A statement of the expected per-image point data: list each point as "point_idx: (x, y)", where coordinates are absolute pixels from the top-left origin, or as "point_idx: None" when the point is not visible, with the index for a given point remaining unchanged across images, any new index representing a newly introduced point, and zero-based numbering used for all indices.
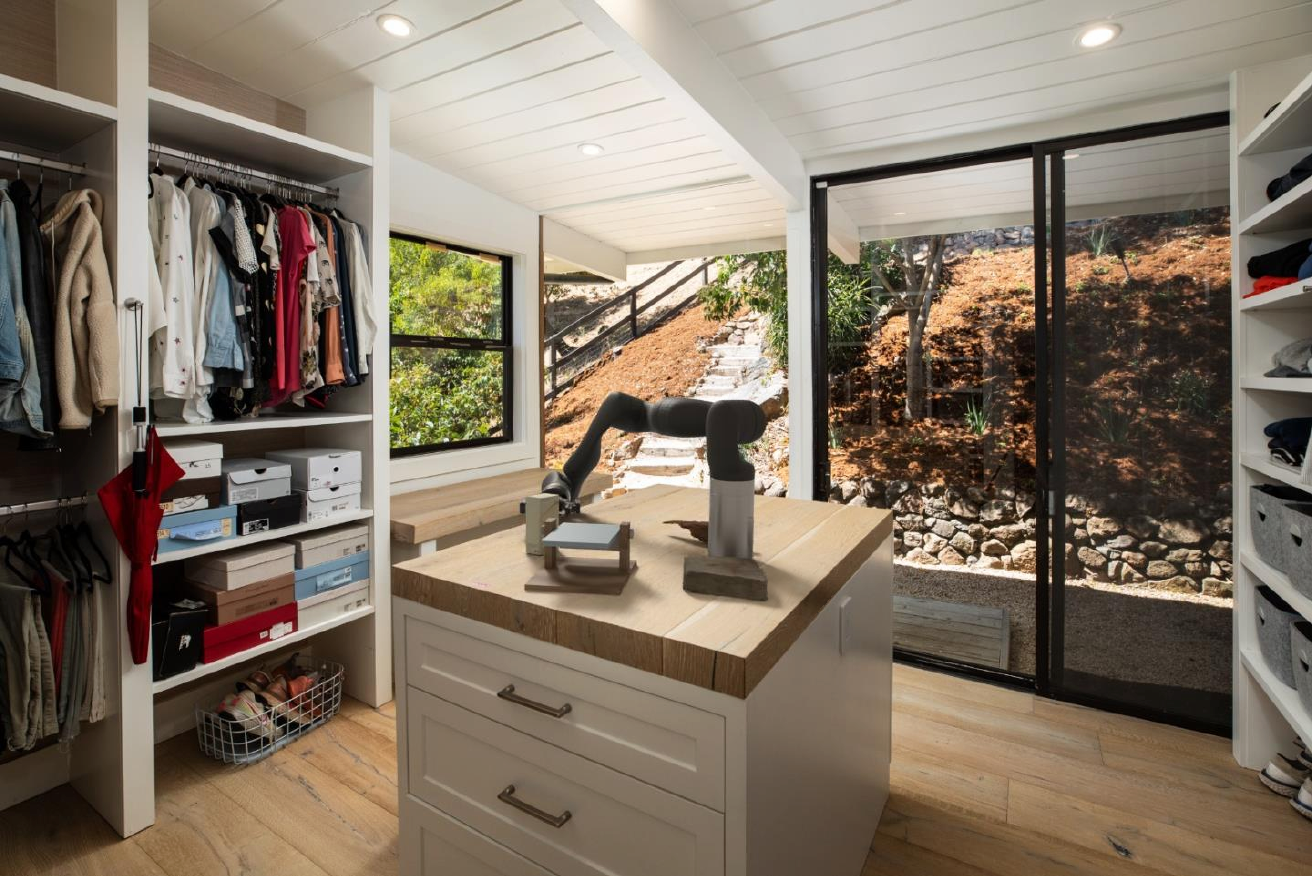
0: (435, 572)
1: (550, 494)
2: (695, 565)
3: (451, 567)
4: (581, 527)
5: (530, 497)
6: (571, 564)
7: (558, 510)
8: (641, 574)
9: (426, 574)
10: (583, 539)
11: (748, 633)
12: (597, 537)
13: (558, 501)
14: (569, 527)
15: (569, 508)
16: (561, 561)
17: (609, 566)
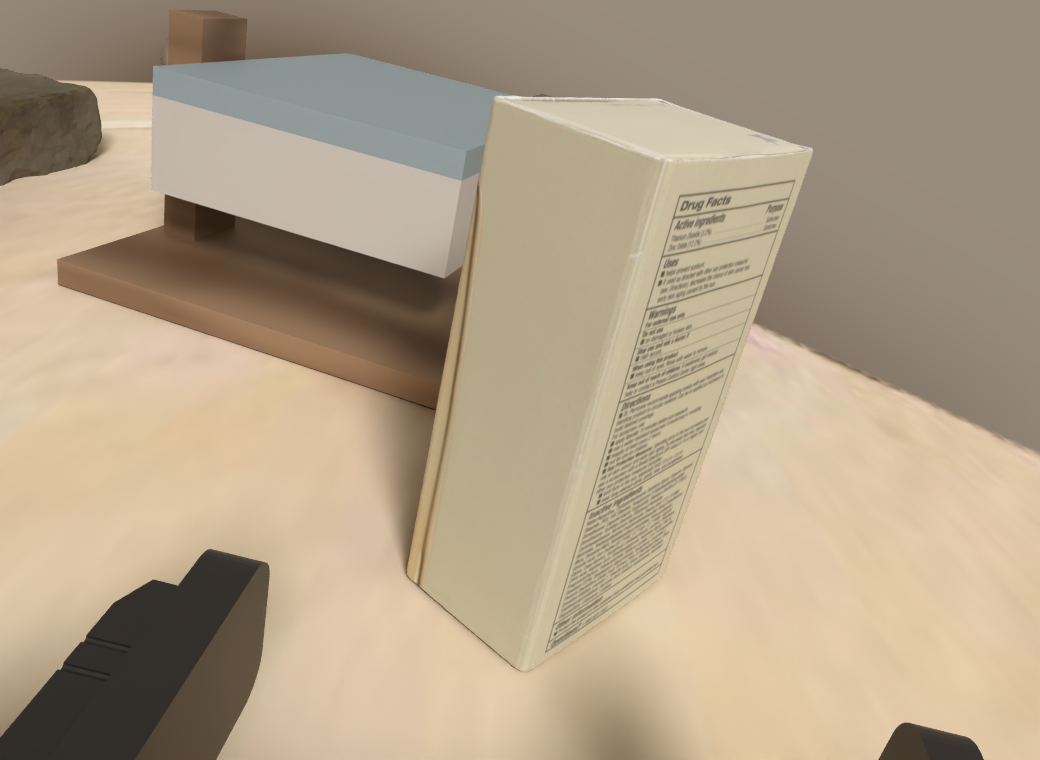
0: (994, 452)
1: (586, 120)
2: (10, 89)
3: (973, 482)
4: (388, 108)
5: (757, 133)
6: (405, 309)
7: (468, 257)
8: (124, 237)
9: (1012, 445)
10: (421, 78)
11: (144, 89)
12: (362, 69)
13: (485, 166)
14: (447, 121)
15: (158, 600)
16: (445, 340)
17: (242, 258)
